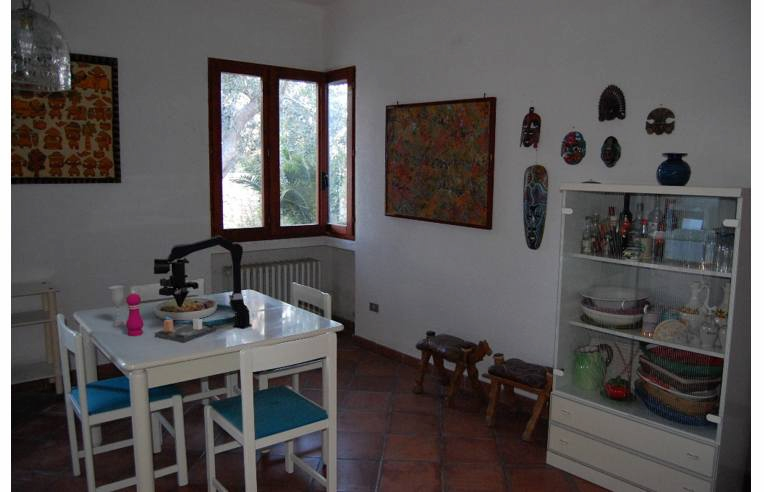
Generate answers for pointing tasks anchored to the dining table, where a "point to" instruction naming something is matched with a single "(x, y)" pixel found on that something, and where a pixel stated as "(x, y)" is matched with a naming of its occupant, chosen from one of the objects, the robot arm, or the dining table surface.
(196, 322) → the fader
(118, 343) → the dining table surface
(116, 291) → the chalice
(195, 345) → the dining table surface
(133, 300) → the pepper mill
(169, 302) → the bowl
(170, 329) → the block
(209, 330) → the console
